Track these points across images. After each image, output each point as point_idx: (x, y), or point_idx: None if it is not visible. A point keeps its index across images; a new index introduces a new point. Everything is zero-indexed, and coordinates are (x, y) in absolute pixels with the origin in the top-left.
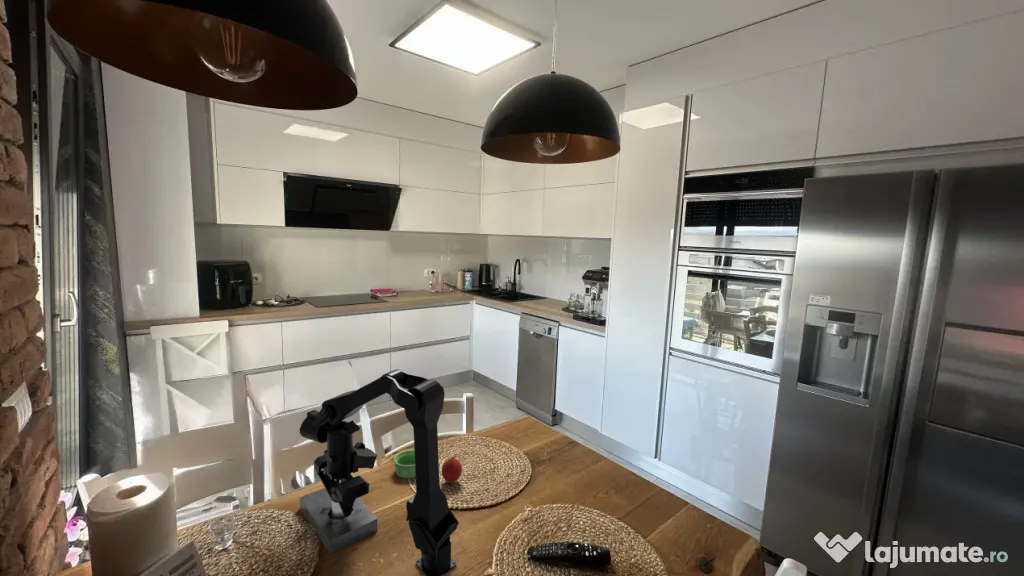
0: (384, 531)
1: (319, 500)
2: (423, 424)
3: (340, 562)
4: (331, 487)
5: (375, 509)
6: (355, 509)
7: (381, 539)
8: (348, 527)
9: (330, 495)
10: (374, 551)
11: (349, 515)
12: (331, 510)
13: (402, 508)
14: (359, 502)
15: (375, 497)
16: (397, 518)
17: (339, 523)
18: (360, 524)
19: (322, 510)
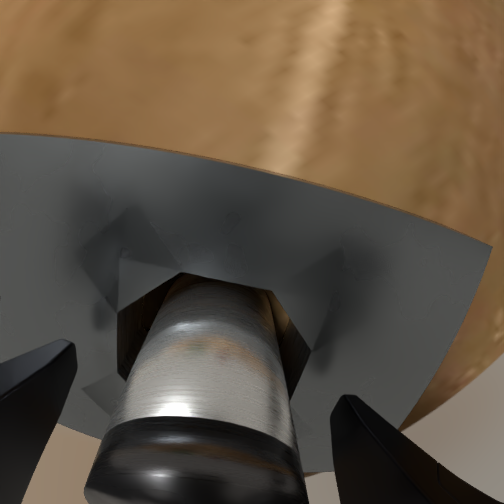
0: (472, 210)
1: (8, 353)
2: None
3: (410, 414)
4: (15, 461)
5: (291, 84)
6: (287, 282)
7: None
8: (388, 401)
9: (54, 422)
10: (488, 315)
11: (265, 312)
12: (123, 362)
13: (416, 12)
14: (228, 193)
15: (176, 8)
16: (459, 93)
17: (311, 418)
18: (437, 348)
19: (105, 406)
